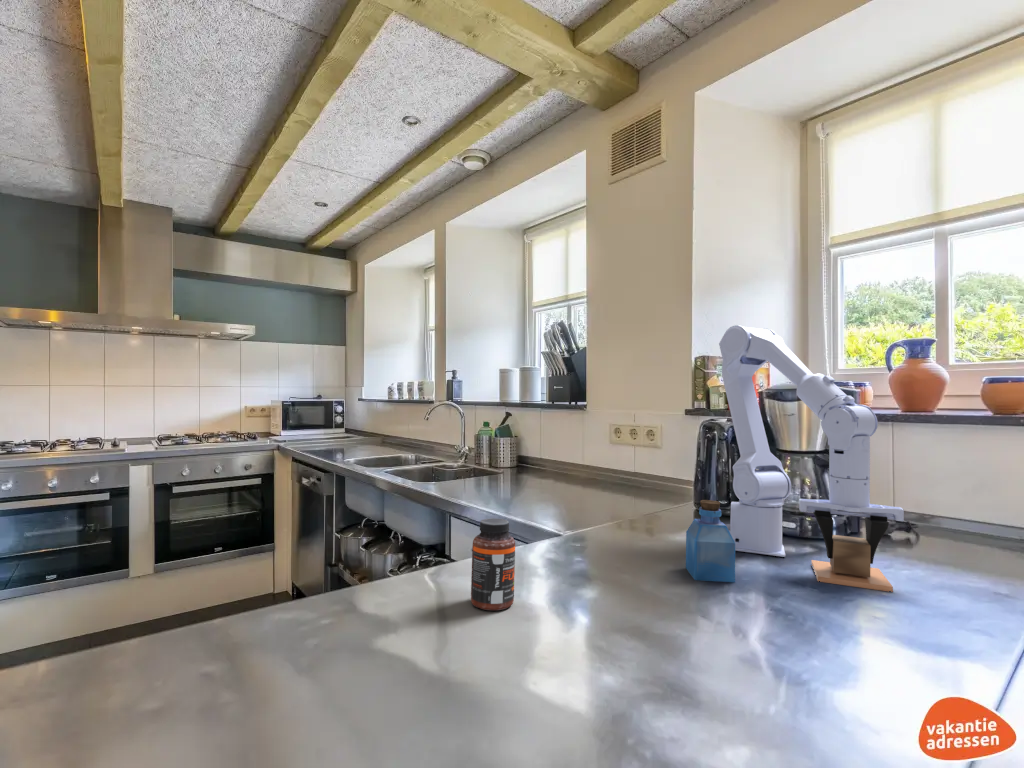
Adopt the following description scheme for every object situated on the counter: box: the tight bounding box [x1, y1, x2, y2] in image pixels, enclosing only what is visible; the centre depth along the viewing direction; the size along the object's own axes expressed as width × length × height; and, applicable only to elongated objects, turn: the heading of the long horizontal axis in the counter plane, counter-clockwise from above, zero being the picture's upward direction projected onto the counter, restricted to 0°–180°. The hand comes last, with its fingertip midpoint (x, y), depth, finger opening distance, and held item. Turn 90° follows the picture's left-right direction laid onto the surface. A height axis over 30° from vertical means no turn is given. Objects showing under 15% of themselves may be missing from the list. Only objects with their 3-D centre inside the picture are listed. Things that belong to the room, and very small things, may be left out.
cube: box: [829, 534, 871, 577], centre depth 87 cm, size 5×5×5 cm
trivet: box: [810, 559, 894, 593], centre depth 87 cm, size 10×10×1 cm
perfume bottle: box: [685, 499, 736, 583], centre depth 87 cm, size 6×6×12 cm
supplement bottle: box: [470, 517, 516, 612], centre depth 72 cm, size 6×6×11 cm
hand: (849, 559), depth 87 cm, fingers closed on cube, 5 cm apart
